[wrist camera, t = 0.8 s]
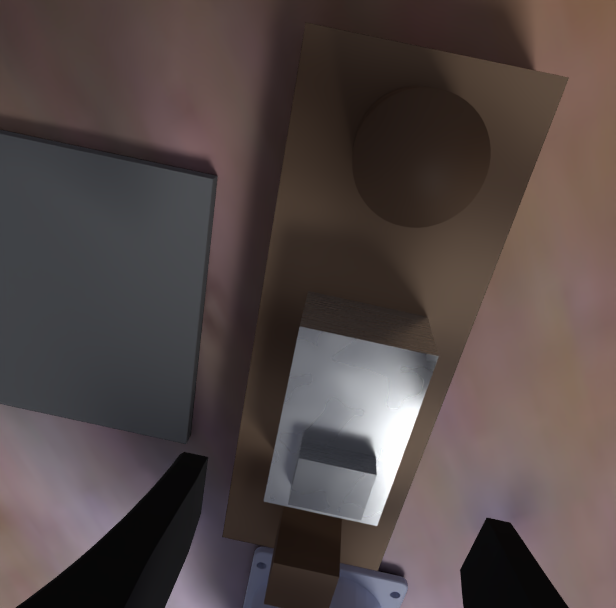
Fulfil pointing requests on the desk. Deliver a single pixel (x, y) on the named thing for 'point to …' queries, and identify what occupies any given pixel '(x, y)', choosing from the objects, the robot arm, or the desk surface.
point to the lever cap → (349, 407)
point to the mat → (101, 285)
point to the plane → (379, 252)
